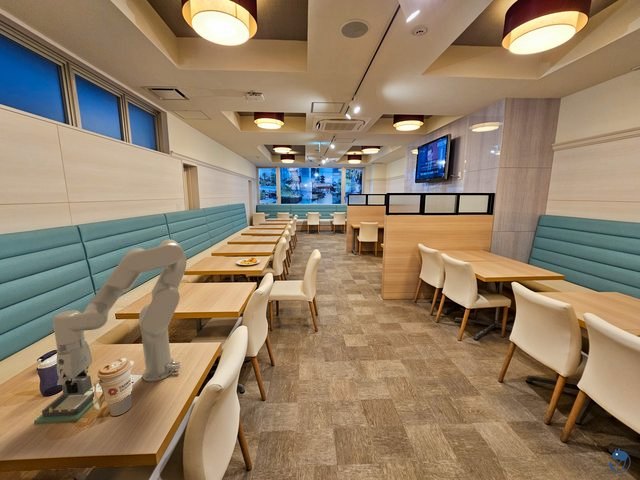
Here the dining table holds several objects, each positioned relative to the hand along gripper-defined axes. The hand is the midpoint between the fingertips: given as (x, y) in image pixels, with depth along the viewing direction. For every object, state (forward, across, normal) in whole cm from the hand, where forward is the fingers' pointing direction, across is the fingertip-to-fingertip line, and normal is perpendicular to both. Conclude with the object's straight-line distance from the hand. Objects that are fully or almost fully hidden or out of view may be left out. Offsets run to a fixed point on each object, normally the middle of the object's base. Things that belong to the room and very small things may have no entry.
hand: (78, 387), depth 98 cm
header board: (+5, -3, 0) cm, 6 cm away
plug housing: (+1, 0, 0) cm, 2 cm away
